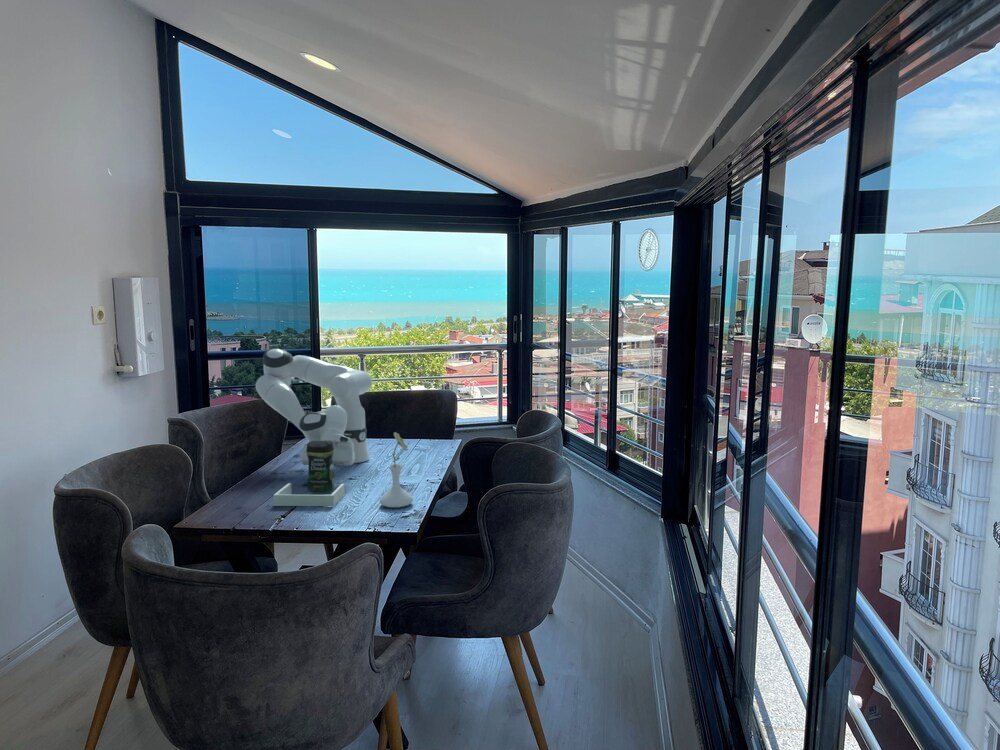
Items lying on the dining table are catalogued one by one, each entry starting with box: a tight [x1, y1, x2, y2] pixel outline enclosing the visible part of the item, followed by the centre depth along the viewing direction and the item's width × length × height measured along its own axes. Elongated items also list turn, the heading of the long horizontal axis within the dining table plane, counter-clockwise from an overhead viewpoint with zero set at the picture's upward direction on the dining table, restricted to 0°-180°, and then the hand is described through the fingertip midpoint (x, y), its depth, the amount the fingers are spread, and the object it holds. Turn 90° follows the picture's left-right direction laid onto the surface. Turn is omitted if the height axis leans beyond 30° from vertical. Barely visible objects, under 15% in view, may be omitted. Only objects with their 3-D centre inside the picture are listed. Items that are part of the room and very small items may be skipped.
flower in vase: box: [379, 431, 414, 509], centre depth 223 cm, size 13×11×25 cm
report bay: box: [272, 482, 346, 508], centre depth 229 cm, size 14×20×4 cm
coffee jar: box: [306, 441, 336, 493], centre depth 241 cm, size 10×8×19 cm
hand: (324, 473), depth 246 cm, fingers closed
